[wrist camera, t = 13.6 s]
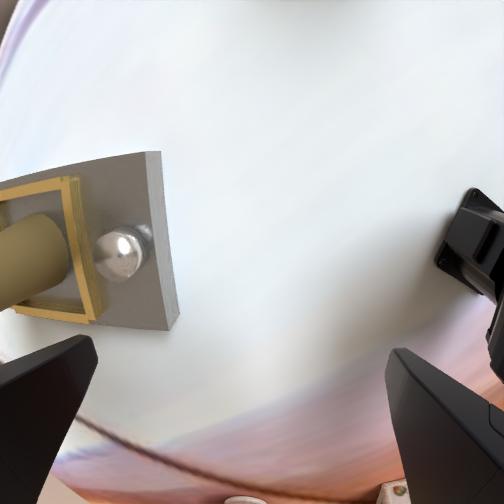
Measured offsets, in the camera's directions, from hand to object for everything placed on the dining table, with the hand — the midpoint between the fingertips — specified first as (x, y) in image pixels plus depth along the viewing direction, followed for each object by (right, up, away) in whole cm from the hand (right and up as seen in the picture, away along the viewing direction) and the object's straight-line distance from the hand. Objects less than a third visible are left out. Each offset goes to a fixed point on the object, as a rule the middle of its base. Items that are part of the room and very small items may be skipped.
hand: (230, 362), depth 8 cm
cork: (-16, +3, +12) cm, 20 cm away
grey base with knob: (-13, +4, +14) cm, 19 cm away
